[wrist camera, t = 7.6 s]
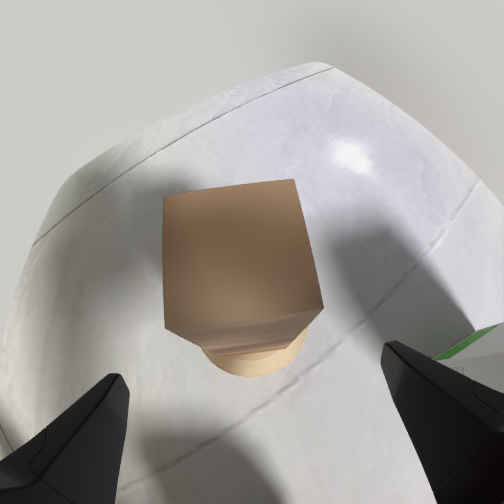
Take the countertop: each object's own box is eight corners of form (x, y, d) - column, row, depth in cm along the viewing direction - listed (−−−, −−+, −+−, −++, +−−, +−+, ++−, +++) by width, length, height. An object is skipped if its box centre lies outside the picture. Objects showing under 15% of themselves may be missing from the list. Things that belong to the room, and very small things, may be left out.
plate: (320, 287, 24) (321, 286, 24) (285, 392, 20) (286, 392, 20) (219, 253, 25) (219, 253, 25) (178, 351, 22) (177, 351, 22)
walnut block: (285, 348, 22) (323, 308, 9) (221, 357, 21) (164, 328, 9) (276, 288, 24) (293, 178, 11) (214, 295, 24) (163, 195, 11)
